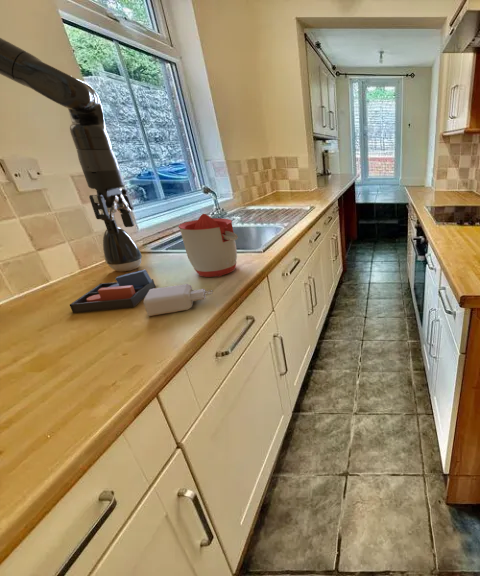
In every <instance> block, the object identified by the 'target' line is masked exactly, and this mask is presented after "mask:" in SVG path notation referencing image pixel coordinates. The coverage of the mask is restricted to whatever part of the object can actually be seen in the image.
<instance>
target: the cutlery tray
mask: <svg viewBox="0 0 480 576" xmlns="http://www.w3.org/2000/svg"><path fill="white" fill-rule="evenodd" d="M151 280H152V282H151V283H150V284H146V285H142V286H139V287H135V288H134V290H135V294H134V295H133V296H132V297H130V298H129V299H118V300H107V301H96V302H87V298H88V297H90V296H93V295H97V294H99V292H98V290H99V289H100V288H106V287H109V286H111V285H114V284H117V283H118V282H117V281H114V282H101V283H99V284H97V285H96V286H95V287H93V288H92V289H90V290H88V291H87V292H86V293H84V294H83V295H82V296H80V297H79V298H77V299H75V300H74V301H73V302H71V303H70V304H69V307H70V309H71V312H72V313H73V314H80V313H88V312H89V313H91V312H99V311H109V310H111V311H112V310H119V309H120V310H121V309H129V308H131V309H132V308H135V307H136V306H137V305H138V304H139V303H140V302H141V301H142V300H144V298H145V297H146V295H147V293H148V292H149V290H150V289H154V288H156V283H155V281H154V279H153V278H151Z"/></svg>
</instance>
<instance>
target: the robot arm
mask: <svg viewBox="0 0 480 576" xmlns="http://www.w3.org/2000/svg"><path fill="white" fill-rule="evenodd" d="M0 75H1V76H3V77H6V78H8V79H9V80H11V81H14V82H15V83H17V84H20V85H22V86H23V87H24V86H25V87H26V88H29V89H31V90H34V92H36V93H38V94H40V95H41V96H43V97H45V98H46V99H48V100H50V101H52V102H54V103H56V104H58V105H60V106H62V107H64V108H66V109H68V113H69V116H70V120H71V124H70V125H69V132H70V135H71V138H72V141H73V144H74V146H75V150H76V153H77V157H78V162H79V164H80V168H81V170H82V173H83V176H84V178H85V181H86V183H87V186H88V187H89V189H93V190H96V194H89V196H88V197H89V201H90V203H91V206H92V210H93V214H94V216H95V219H96V220H101V221H103V223H104V224H105V228H106V230H107V231H108V233H109V234H118V233H119V230H118V227H119V226H118V224H117V221H116V219H115V213H117V211H118V213H120V217H121V221H122V224H123V226H124V227H125V228H132V227H134V226H135V224H134V221H133V217H132V211H134V206H133V202H132V200H131V197H130V194H129V191H128V189H127V188H124V187H125V181H124V178H123V175H122V171H121V168H120V164H119V161H118V159H117V157H116V155H115V153H114V150H113V146H112V144H111V140H110V137H109V135H108V132H107V130H106V121H105V116H104V110H103V106H102V103H101V99H100V97H99V95H98V93H97V92H96V90H95V89H94V88H93V86H91V85H90V84H88V83H87V82H85V81H83V80H80V79H78V78H76V77H74V76H73V75H70V74H68V73H65V72H64V71H62V70H60V69H57V68H56V67H54V66H52V65H49V64H47V62H46V63H45V62H44V61H42V60H41V59H40V58H39V57H37V56H35V55H33V54H32V53H30V52H28V51H26V50H24V49H23V48H21V47H19V46H17V45H15V44H13V43H12V42H10V41H8V40H6V39H3V38H2V37H0Z"/></svg>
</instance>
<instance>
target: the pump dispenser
mask: <svg viewBox="0 0 480 576" xmlns="http://www.w3.org/2000/svg"><path fill="white" fill-rule="evenodd" d="M117 227H118V230H119V233H118V234H109V233H108V231H107V229H105V231H104V233H103V237H102V252H103V257H104V258H103V259H104V261H105V264H107V265H108V267H110V269H112V270H114V271H116V272H121V273H123V272H131V271H134V270H136V269H138V268H139V267H140V266H141V265H142V258H143V255H142V253H141V250H140V249H139V247H138V245H137V244H136V242H135V241H134V240H133V238H132V236H130V234H129V233H128V232H127V231H126V230H124V229H123V228H121V227H119V226H117Z"/></svg>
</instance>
